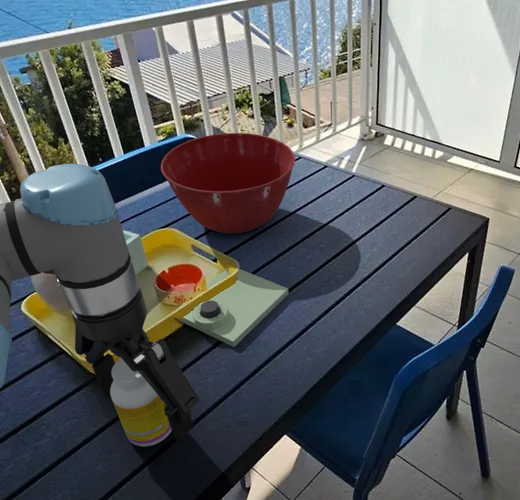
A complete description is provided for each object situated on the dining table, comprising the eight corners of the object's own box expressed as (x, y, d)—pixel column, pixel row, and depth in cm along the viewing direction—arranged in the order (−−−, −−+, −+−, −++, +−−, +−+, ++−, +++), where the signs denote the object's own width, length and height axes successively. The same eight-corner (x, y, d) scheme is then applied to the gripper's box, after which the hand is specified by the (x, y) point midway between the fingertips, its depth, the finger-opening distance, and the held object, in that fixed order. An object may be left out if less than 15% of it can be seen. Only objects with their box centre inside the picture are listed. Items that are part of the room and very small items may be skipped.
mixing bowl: (322, 213, 120) (321, 154, 111) (233, 271, 101) (223, 205, 92) (240, 178, 133) (234, 123, 124) (148, 223, 115) (132, 162, 106)
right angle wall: (102, 251, 106) (92, 221, 101) (148, 265, 102) (140, 235, 98) (56, 284, 97) (43, 253, 92) (104, 301, 93) (93, 269, 89)
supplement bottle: (179, 438, 70) (161, 378, 63) (129, 455, 68) (104, 395, 60) (172, 402, 75) (154, 342, 68) (125, 417, 73) (101, 357, 65)
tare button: (211, 320, 86) (209, 314, 85) (198, 314, 87) (196, 308, 86) (222, 310, 88) (221, 304, 87) (210, 304, 89) (208, 298, 88)
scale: (232, 349, 84) (230, 336, 82) (171, 319, 90) (168, 307, 88) (288, 294, 96) (287, 282, 94) (232, 270, 101) (230, 259, 99)
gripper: (211, 314, 55) (235, 429, 67) (64, 247, 64) (109, 358, 77) (159, 360, 49) (195, 475, 62) (8, 279, 59) (66, 393, 72)
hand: (148, 410), depth 70 cm, fingers open, 13 cm apart
